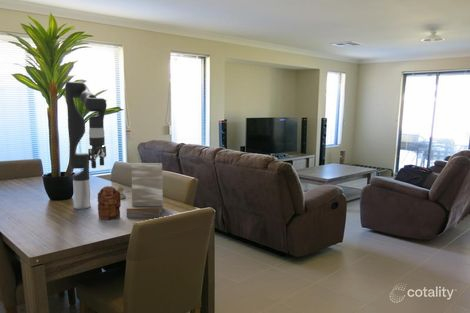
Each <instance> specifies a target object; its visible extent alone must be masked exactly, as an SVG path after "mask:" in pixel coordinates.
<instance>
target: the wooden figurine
mask: <svg viewBox="0 0 470 313" xmlns="http://www.w3.org/2000/svg"><path fill="white" fill-rule="evenodd" d="M111 186H112V185H111ZM111 186H107V185H106V186H104V187H102V188H100V190H99V192H97V212H98V213H97V215H98V219H99V220H103V221H108V220H109V221H110V220H115V219H120V218H121V205H122V204H121V202H122V201H121V199H120V192H119V191H116V189H115V188H114V187H111Z"/></svg>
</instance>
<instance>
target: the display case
mask: <svg viewBox="0 0 470 313" xmlns="http://www.w3.org/2000/svg"><path fill="white" fill-rule="evenodd" d="M130 164H131V165H130V166H131V168H130V170H131V171H130V172H131V196H132V197H131V205H132V206H131V207H126V218H160V216H161V214H162V211H163V209H162V208H164V207H163V206H164V205H163V203H164V202H163V201H164V198H163V197H164V196H163V192H164V191H163V189H164V188H163V163H161V162H159V163H158V162H155V163H154V162H146V163H145V162H131V163H130ZM160 213H161V214H160Z"/></svg>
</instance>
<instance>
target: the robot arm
mask: <svg viewBox="0 0 470 313" xmlns="http://www.w3.org/2000/svg"><path fill="white" fill-rule="evenodd" d="M64 86H65V88H64V90H65V98H66V99H65V100H66V108H67V130H68V143H69V145H68V146H69V147H68V148H69V149H68V151H69V155H68V156H69V158H68V160H69V168H70V169H71V170H72V169H73V170H74V169H78V170H79V169H83V170H82V171H80V172H78V173H74V174H73V175H72V186H73V188H72V189H73V206H74V209H77V210H78V209H79V210H81V209H84V210H85V209H89V208H91V206H92V205H91V186H90V185H91V184H90V182H91V181H90V164H91V168H92V169H96V168H97V161H96V160H97V158H99V166H105V158H107V147H106V145H105V144H106V142H105V129H104V128H105V127H104V123H105V122H104V118H105V115H106V114H105V113H106V111H107V107H108V106H107V101H106V99H104V98H103V97H97V96H96V95H95V94H94V93H92V92H91V90H90V89H89V87H88V86H87V84H85V82H83V81H66V82H65V85H64ZM78 98H79V99H80V101H81V103H82V104H84V108H85V110H86V111H88V112H91V113H93V112H96V113H97V114H96V115H93V116H90V117H89V118H88V122H89V124H88V127H89V129H88V130H89V131H88V135H89V136H88V140H89V146H90V147H91V148H88V150H87V151H88V153H87V152H85V153H84V152H77V153H76V150H77V146H78V145H79V143H80V142H81V140H82V138H83V137H84V135H85V134H86V120H85V118H84V117H83V115H82V113H81V112H80V111H79V110H78V109H77V107H76V104H75V101H74V99H78ZM90 162H91V163H90Z"/></svg>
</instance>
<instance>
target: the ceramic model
mask: <svg viewBox="0 0 470 313" xmlns="http://www.w3.org/2000/svg"><path fill="white" fill-rule="evenodd" d="M111 187H114V188H115V189H116V191H119V192H120V200H121V199H125V198H126V194H124V191H125V189H124V188H123V186H121V184H120V183H118V182H115V183H113V184H112V185H111Z"/></svg>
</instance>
